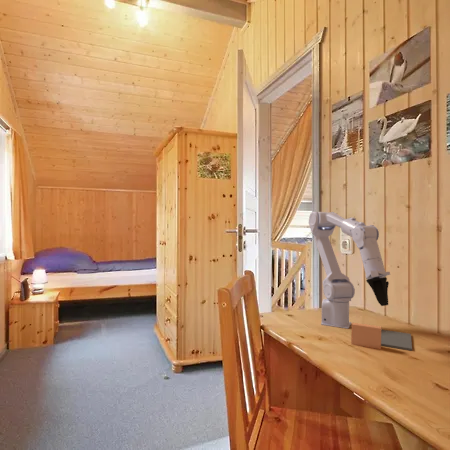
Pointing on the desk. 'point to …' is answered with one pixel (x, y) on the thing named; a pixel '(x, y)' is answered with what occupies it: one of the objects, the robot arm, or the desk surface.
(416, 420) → the desk surface
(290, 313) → the desk surface
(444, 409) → the desk surface
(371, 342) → the slab
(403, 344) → the mat
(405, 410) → the desk surface
